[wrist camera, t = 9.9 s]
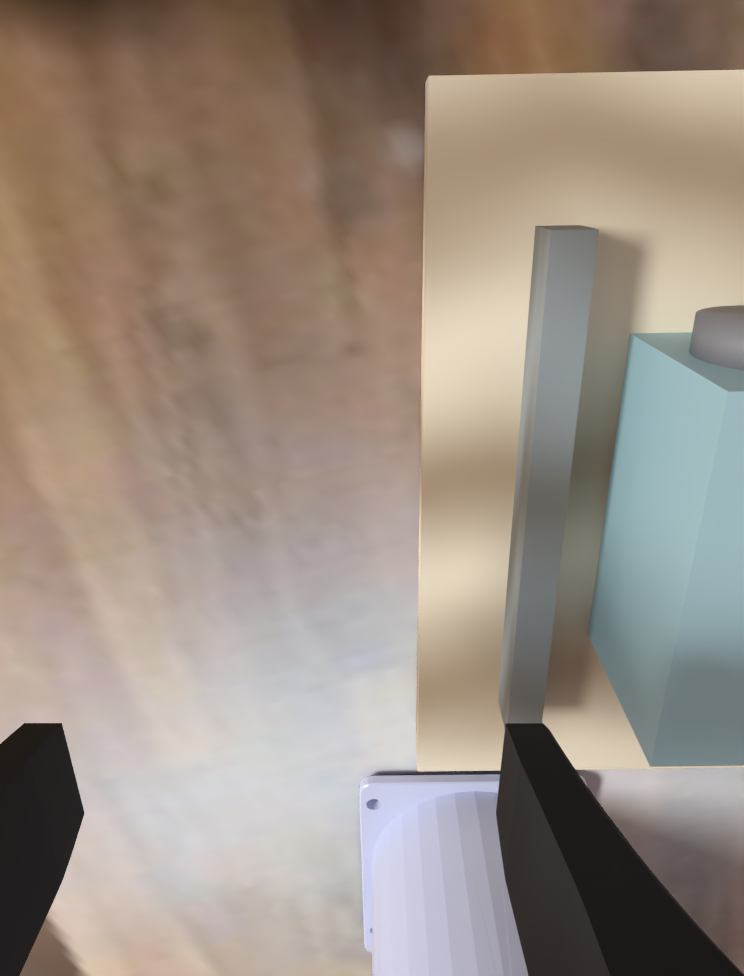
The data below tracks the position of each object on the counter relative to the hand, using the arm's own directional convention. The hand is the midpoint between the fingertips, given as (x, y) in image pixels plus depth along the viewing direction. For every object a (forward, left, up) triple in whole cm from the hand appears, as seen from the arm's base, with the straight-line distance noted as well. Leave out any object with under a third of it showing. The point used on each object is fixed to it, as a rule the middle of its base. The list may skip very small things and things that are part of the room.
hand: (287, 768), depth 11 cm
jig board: (+1, -10, -9) cm, 14 cm away
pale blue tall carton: (+1, -10, -8) cm, 13 cm away
